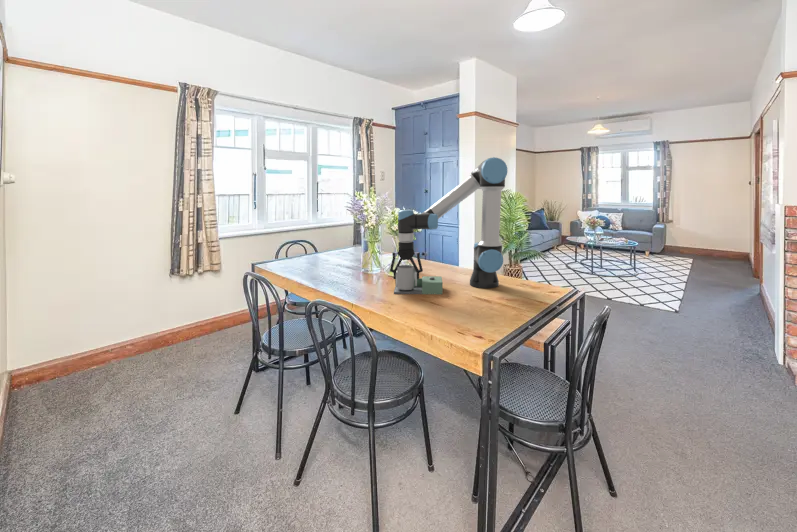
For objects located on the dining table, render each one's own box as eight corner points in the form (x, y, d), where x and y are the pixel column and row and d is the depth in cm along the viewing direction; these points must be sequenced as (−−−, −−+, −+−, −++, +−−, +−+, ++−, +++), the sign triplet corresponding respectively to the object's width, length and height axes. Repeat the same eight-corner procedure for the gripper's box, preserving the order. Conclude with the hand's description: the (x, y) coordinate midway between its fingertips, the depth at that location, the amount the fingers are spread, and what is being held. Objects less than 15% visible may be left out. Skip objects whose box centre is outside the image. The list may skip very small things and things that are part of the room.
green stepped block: (441, 287, 204) (441, 274, 203) (442, 294, 192) (442, 280, 190) (395, 287, 206) (395, 274, 205) (393, 294, 193) (393, 280, 192)
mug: (406, 291, 191) (406, 269, 189) (393, 288, 197) (393, 266, 195) (422, 286, 200) (422, 265, 197) (409, 283, 205) (409, 263, 203)
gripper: (428, 240, 196) (427, 283, 201) (384, 240, 198) (385, 283, 202) (428, 242, 189) (428, 287, 194) (383, 242, 191) (384, 287, 195)
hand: (406, 285), depth 198 cm, fingers closed on mug, 9 cm apart
